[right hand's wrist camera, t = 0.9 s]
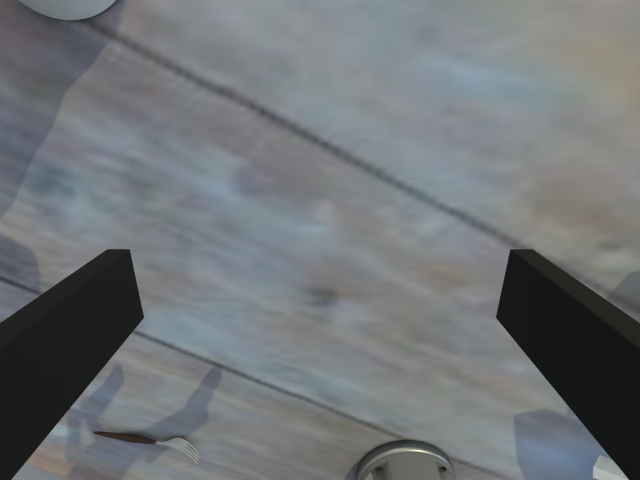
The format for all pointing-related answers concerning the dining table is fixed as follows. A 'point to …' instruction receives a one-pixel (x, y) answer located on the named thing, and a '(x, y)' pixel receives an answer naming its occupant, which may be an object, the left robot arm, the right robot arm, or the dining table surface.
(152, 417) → the dining table surface
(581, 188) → the dining table surface
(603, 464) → the white plastic object
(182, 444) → the fork
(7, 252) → the dining table surface
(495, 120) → the dining table surface
